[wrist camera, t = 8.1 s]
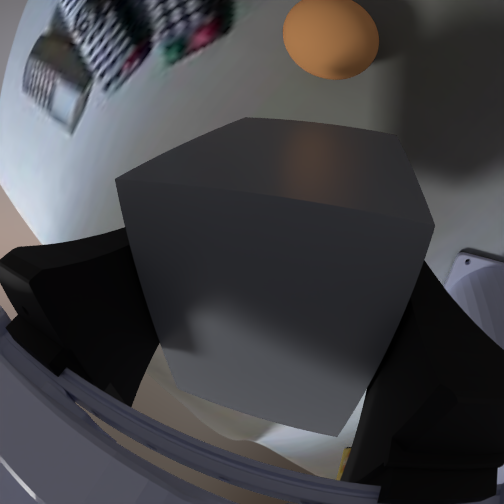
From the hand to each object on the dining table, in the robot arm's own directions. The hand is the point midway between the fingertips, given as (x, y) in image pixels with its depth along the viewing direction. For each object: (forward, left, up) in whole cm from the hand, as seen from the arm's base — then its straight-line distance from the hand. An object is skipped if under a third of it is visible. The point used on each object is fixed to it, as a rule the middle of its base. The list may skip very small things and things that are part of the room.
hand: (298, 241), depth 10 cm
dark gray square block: (0, 0, -3) cm, 3 cm away
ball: (0, -8, -8) cm, 11 cm away
